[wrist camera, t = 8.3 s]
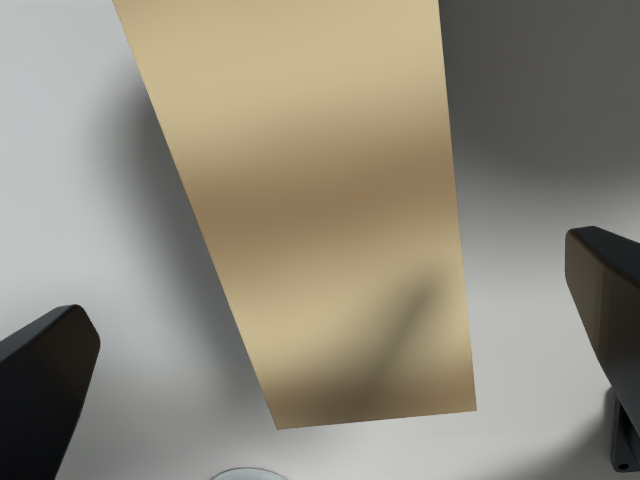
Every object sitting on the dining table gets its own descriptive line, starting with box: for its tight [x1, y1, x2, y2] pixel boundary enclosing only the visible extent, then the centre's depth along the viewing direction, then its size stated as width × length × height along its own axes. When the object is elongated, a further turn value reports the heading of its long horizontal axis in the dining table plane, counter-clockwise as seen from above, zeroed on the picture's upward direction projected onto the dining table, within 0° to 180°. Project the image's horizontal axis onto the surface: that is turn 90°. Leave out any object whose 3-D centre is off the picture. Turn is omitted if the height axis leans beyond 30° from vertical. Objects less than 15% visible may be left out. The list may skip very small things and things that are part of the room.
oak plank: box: [112, 0, 477, 430], centre depth 13 cm, size 14×6×3 cm, turn 12°
